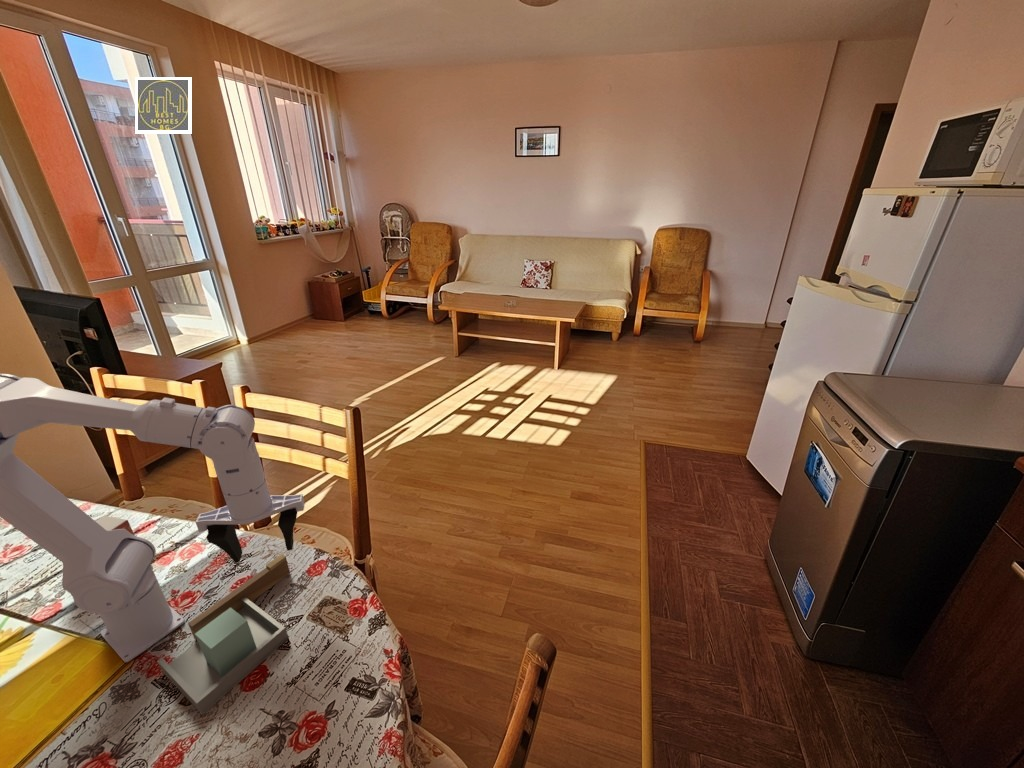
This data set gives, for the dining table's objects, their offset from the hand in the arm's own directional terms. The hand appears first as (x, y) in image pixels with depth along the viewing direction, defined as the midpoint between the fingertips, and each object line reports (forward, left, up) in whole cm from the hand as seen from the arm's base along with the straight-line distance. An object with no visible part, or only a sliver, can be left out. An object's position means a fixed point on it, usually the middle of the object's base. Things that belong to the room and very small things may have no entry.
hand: (265, 551), depth 69 cm
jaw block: (+4, -10, -10) cm, 14 cm away
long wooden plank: (-4, -4, -10) cm, 11 cm away
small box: (-31, -13, -11) cm, 35 cm away
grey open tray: (+3, -10, -11) cm, 15 cm away
